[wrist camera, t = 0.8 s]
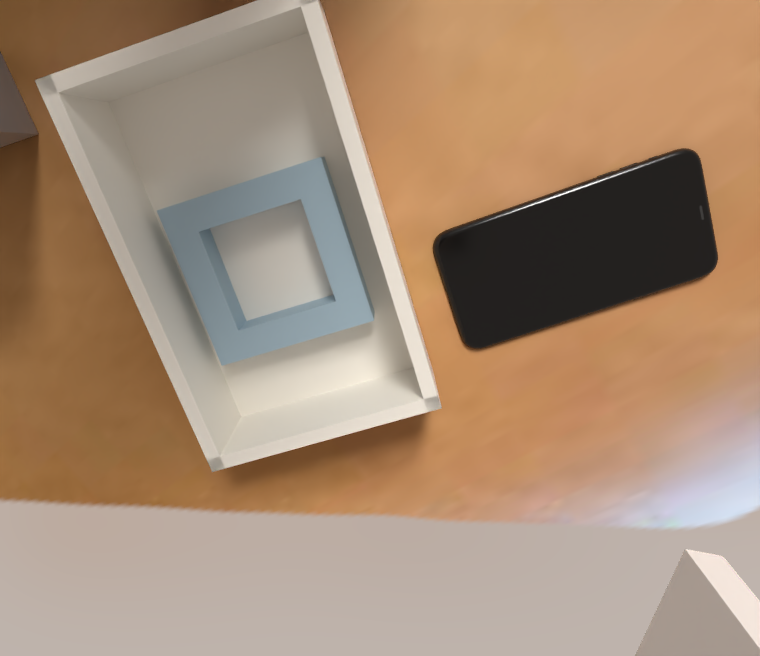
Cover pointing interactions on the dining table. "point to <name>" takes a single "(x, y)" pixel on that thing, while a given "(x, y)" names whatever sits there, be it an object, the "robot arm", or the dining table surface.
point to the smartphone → (579, 249)
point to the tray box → (249, 228)
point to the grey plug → (12, 110)
